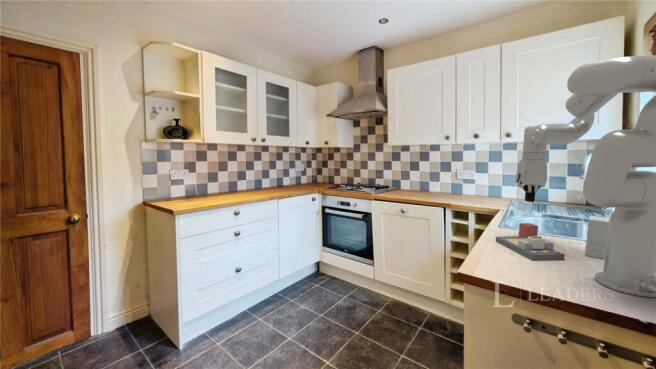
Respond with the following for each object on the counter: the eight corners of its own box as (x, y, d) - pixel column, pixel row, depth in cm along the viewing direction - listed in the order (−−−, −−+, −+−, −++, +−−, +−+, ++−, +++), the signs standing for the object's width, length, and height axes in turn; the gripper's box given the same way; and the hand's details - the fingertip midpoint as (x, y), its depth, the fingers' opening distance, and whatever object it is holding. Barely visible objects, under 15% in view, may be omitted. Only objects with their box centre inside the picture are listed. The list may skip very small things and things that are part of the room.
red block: (536, 239, 114) (538, 225, 113) (526, 240, 114) (527, 226, 113) (528, 236, 118) (530, 223, 118) (518, 236, 118) (519, 223, 118)
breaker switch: (544, 248, 97) (545, 237, 97) (533, 248, 97) (533, 238, 97) (537, 245, 100) (538, 235, 100) (526, 245, 100) (527, 235, 100)
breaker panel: (564, 259, 93) (565, 247, 93) (532, 260, 93) (533, 247, 92) (522, 240, 113) (522, 230, 112) (495, 241, 113) (496, 230, 112)
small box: (610, 260, 92) (614, 222, 91) (584, 255, 97) (588, 219, 95) (610, 253, 98) (614, 218, 96) (586, 249, 102) (589, 215, 101)
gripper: (544, 156, 114) (540, 199, 117) (509, 156, 114) (505, 199, 117) (559, 157, 107) (555, 203, 110) (521, 157, 107) (517, 203, 110)
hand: (529, 201), depth 113 cm, fingers closed
